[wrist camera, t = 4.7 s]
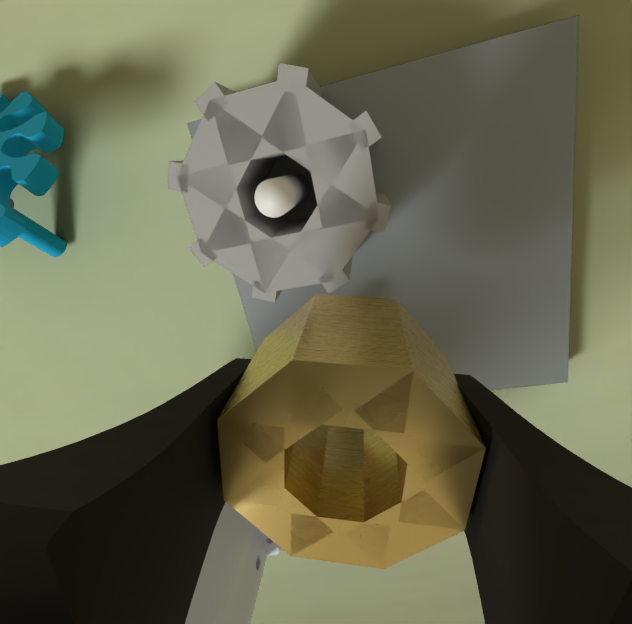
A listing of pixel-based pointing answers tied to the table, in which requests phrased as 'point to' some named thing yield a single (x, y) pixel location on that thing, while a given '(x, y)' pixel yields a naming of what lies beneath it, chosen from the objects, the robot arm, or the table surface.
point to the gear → (26, 168)
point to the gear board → (404, 197)
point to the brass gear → (350, 436)
